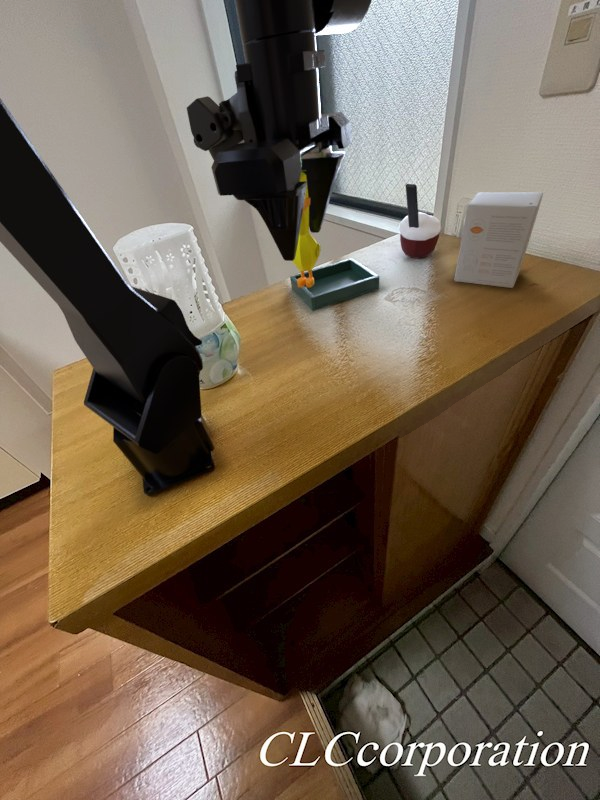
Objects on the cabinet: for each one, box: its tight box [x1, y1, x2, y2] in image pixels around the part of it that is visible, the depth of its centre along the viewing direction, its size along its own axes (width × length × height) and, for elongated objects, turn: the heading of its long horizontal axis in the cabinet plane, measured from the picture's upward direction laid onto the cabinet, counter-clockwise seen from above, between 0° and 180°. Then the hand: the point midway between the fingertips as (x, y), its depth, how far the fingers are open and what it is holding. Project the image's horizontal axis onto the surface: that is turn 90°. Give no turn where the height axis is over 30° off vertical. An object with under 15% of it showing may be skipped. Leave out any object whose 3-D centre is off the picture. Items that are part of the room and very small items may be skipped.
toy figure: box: [292, 158, 322, 287], centre depth 35 cm, size 7×4×12 cm, turn 164°
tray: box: [289, 257, 380, 312], centre depth 54 cm, size 11×9×2 cm
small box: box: [454, 191, 544, 289], centre depth 47 cm, size 8×6×10 cm
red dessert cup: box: [398, 183, 442, 259], centre depth 55 cm, size 10×6×12 cm, turn 119°
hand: (303, 245), depth 37 cm, fingers closed on toy figure, 7 cm apart
